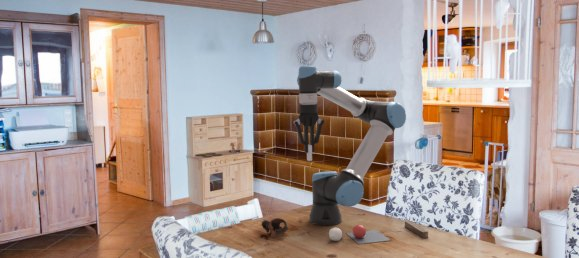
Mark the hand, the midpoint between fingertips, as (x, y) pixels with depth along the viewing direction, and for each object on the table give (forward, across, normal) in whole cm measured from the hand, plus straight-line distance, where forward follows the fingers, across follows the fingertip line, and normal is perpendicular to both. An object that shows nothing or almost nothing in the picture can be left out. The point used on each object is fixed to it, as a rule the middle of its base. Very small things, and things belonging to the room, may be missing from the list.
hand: (309, 160), depth 198 cm
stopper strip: (+32, +44, -9) cm, 55 cm away
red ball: (+30, +18, -9) cm, 36 cm away
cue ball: (+30, +8, -9) cm, 32 cm away
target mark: (+32, +22, -9) cm, 40 cm away
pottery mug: (+33, -14, +6) cm, 36 cm away
